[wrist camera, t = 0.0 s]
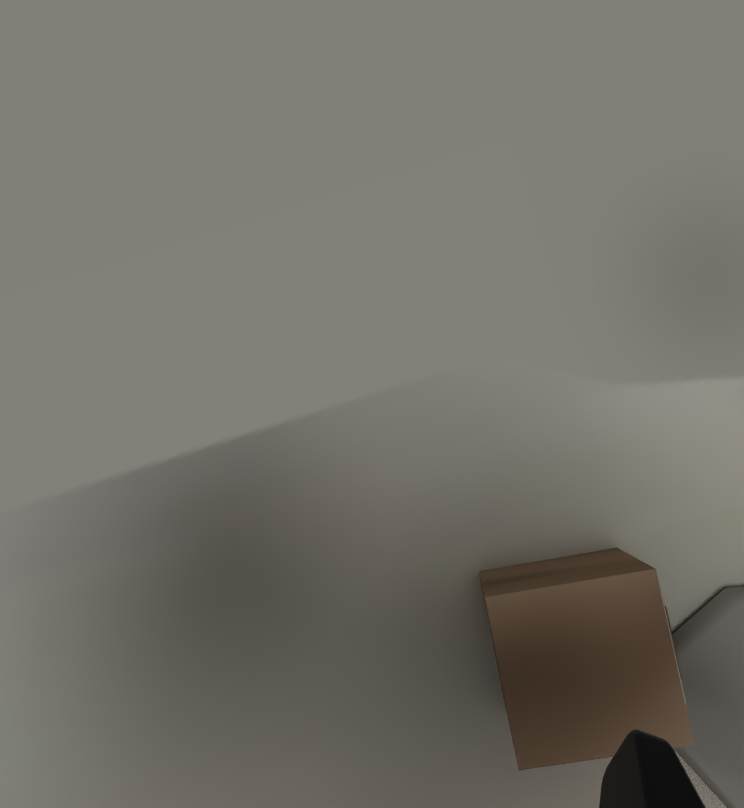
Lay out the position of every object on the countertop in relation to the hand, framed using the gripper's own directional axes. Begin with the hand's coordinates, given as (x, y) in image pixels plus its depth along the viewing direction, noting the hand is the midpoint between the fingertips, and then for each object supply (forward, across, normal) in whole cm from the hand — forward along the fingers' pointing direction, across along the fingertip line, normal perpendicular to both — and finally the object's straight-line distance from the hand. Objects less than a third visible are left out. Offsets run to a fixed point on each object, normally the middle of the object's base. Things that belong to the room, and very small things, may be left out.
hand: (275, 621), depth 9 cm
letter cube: (+12, -6, +9) cm, 16 cm away
